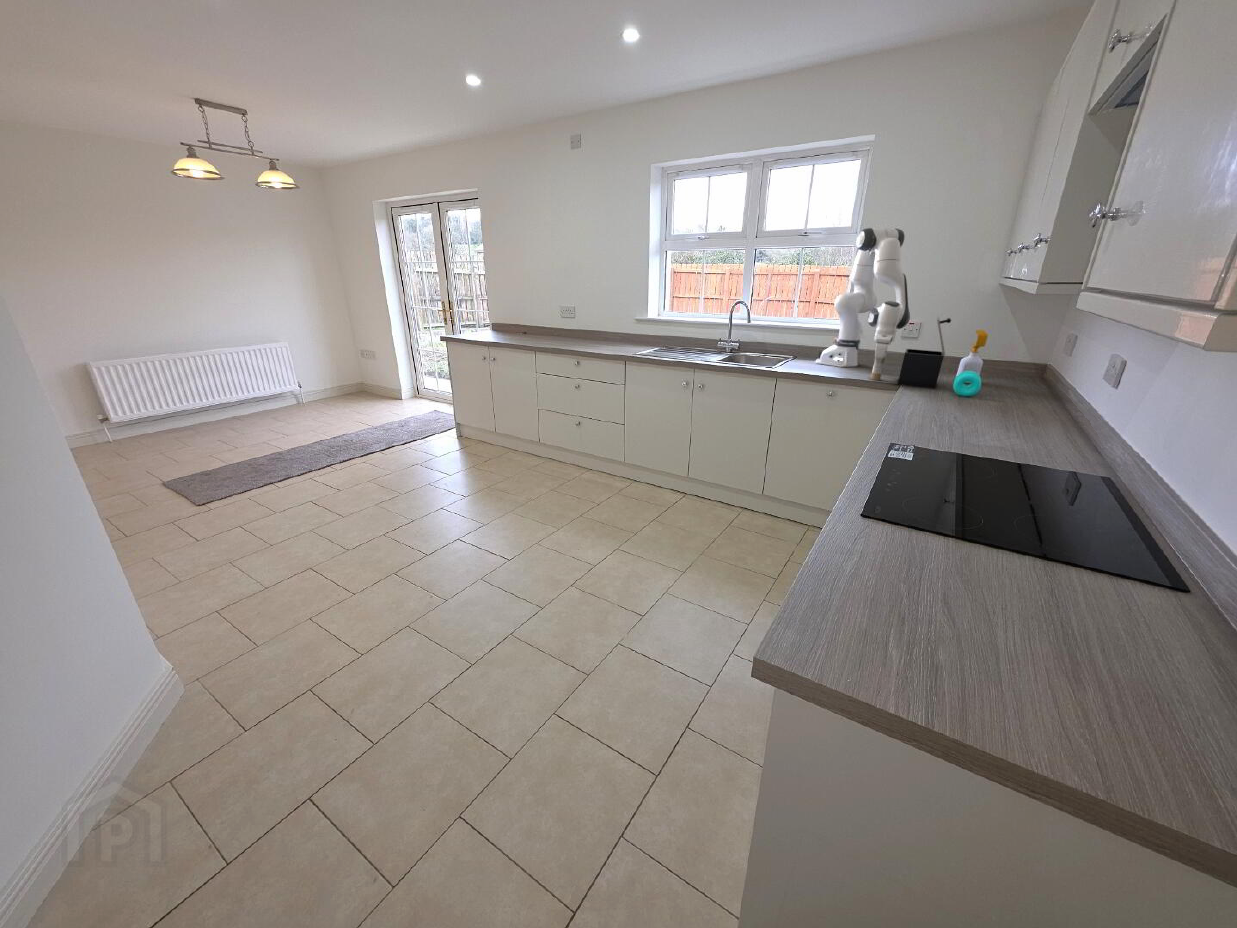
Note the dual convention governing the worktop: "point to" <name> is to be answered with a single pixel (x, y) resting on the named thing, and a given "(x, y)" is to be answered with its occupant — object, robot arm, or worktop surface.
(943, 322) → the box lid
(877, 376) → the sprinkles bottle
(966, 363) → the soap bottle
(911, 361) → the black box
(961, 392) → the donuts
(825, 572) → the worktop surface
